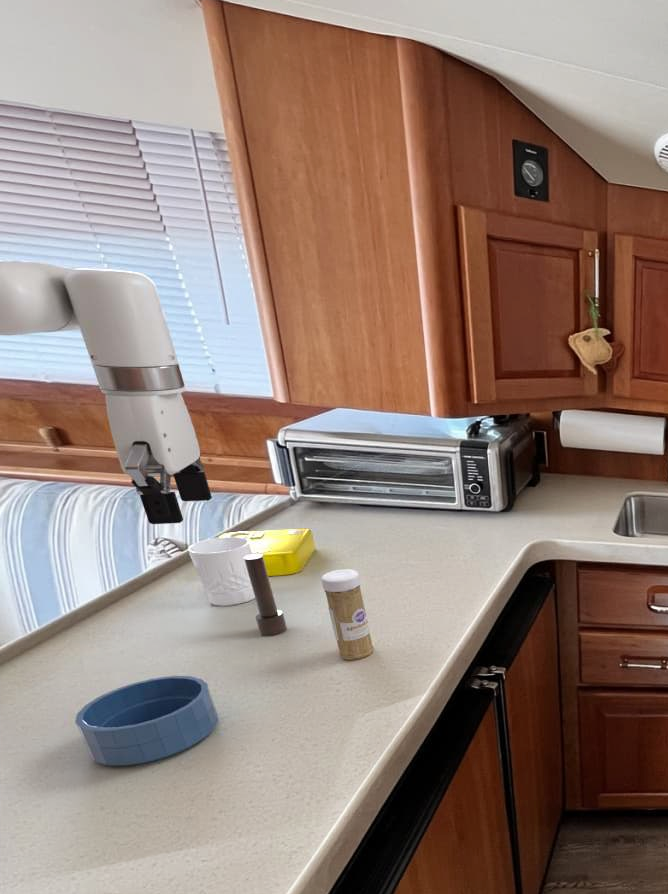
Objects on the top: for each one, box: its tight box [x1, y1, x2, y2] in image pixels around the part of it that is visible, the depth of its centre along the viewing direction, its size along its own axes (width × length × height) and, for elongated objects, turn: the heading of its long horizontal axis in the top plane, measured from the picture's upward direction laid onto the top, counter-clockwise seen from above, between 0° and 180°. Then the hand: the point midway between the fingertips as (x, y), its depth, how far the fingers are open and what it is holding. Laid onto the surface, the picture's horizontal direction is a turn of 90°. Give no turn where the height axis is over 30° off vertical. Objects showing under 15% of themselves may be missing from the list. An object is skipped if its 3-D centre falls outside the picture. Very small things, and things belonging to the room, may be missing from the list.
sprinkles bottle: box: [321, 568, 375, 661], centre depth 96 cm, size 5×5×14 cm
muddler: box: [244, 554, 288, 637], centre depth 100 cm, size 3×3×13 cm
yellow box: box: [217, 528, 316, 577], centre depth 123 cm, size 15×15×5 cm
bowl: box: [74, 675, 219, 766], centre depth 77 cm, size 11×11×6 cm
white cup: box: [187, 537, 255, 607], centre depth 109 cm, size 8×8×10 cm
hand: (182, 511), depth 85 cm, fingers open, 9 cm apart
